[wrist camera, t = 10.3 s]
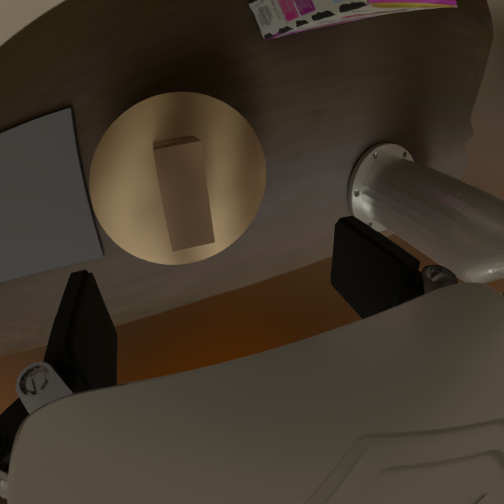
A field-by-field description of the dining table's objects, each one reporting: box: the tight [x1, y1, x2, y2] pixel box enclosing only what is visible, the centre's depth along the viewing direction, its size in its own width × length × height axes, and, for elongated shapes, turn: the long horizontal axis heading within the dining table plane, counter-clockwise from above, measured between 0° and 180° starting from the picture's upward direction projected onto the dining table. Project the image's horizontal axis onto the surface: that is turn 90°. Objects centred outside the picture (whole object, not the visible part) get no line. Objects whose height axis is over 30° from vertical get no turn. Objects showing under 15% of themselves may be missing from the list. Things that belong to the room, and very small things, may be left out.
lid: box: [89, 92, 266, 265], centre depth 21 cm, size 14×14×5 cm
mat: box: [0, 108, 104, 282], centre depth 24 cm, size 16×16×1 cm
